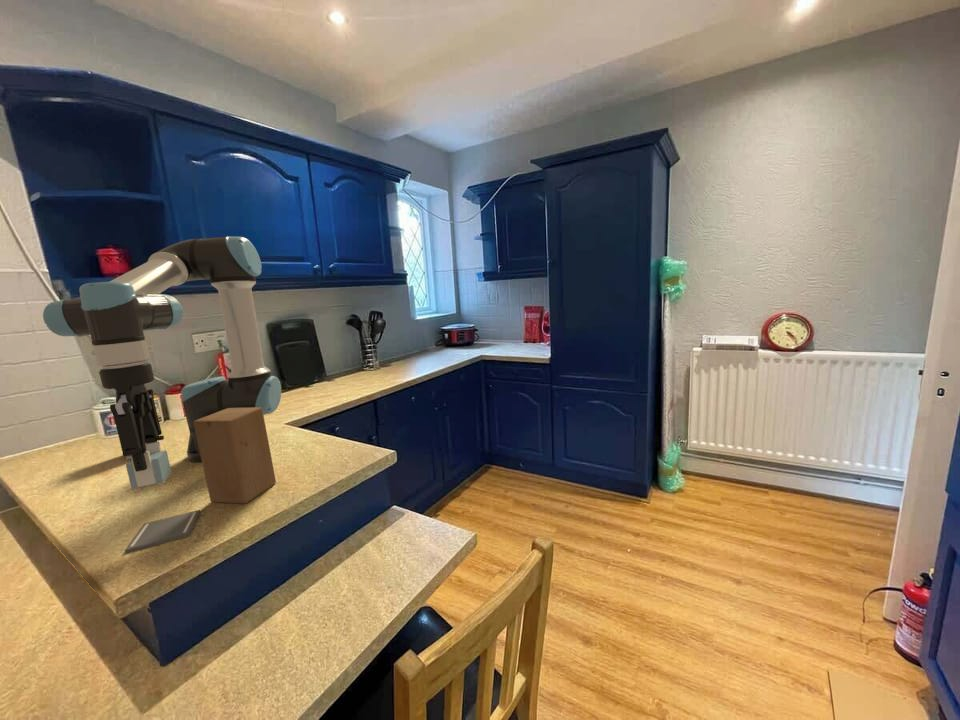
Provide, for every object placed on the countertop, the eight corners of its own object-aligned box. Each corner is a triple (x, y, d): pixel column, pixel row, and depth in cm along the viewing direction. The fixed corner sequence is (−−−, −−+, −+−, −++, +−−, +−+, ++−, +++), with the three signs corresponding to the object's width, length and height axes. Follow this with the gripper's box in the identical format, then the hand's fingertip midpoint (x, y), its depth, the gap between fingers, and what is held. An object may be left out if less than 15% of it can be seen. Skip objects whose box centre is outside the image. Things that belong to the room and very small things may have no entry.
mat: (144, 525, 83) (144, 523, 83) (200, 512, 87) (200, 509, 87) (125, 552, 74) (124, 549, 74) (188, 536, 78) (187, 533, 78)
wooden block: (246, 504, 89) (229, 420, 86) (209, 503, 91) (191, 421, 88) (277, 482, 99) (262, 406, 95) (243, 482, 101) (228, 407, 97)
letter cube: (171, 472, 82) (166, 450, 81) (163, 482, 77) (157, 458, 77) (140, 478, 80) (135, 455, 79) (130, 489, 75) (124, 464, 75)
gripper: (120, 361, 81) (145, 466, 85) (73, 375, 65) (108, 504, 69) (164, 356, 84) (187, 458, 88) (130, 368, 68) (160, 492, 72)
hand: (152, 478), depth 79 cm, fingers closed on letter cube, 5 cm apart
